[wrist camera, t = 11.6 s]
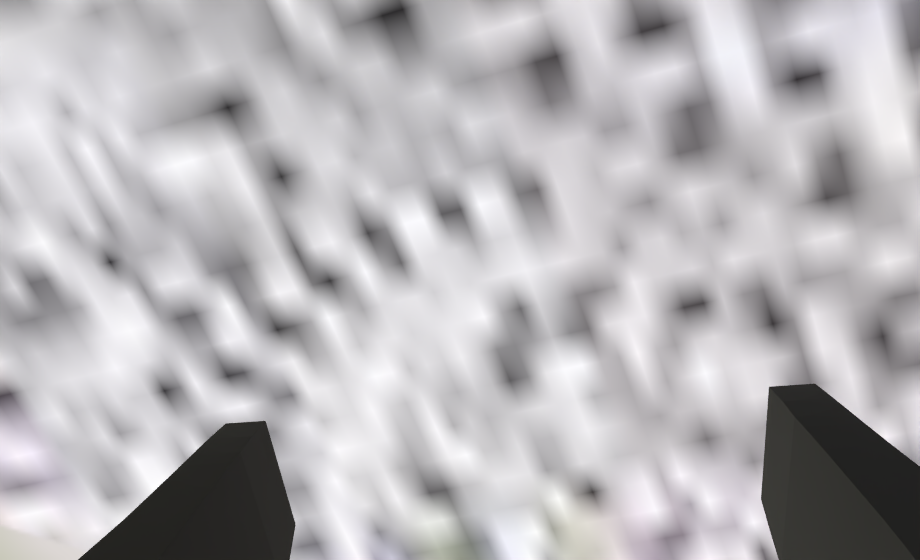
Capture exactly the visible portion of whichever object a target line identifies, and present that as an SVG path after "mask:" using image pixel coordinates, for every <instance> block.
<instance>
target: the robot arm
mask: <svg viewBox="0 0 920 560" xmlns="http://www.w3.org/2000/svg"><path fill="white" fill-rule="evenodd" d="M761 500H762V504H763V507H764V511H765V514H766V518H767V521H768V525H769V528H770V532H771V535H772V539H773V542H774V545H775V548H776V552H777V555H778V558H779V560H920V466H918V465H917V464H916V463H914V462H913V461H912V460H910V459H909V458H908V457H907V456H905V455H904V454H903V453H901V452H900V451H899V450H898V449H896V448H895V447H894V446H892V445H891V444H890V443H889V442H887V441H886V440H885V439H883V438H882V437H881V436H880V435H878V434H877V433H876V432H875V431H873V430H872V429H871V428H870V427H868V426H867V425H866V424H865V423H863V422H862V421H861V420H860V419H858V418H857V417H856V416H855V415H854V414H852V413H851V412H850V411H849V410H847V409H846V408H845V407H844V406H842V405H841V404H840V403H839V402H837V401H836V400H835V399H834V398H833V397H831V396H830V395H829V394H827V393H826V392H825V391H824V390H822V389H821V388H820V387H818V386H817V385H816V384H805V385H790V386H775V387H769V396H768V410H767V424H766V439H765V453H764V467H763V481H762V495H761ZM294 530H295V521H294V518H293V514H292V511H291V507H290V504H289V501H288V497H287V494H286V490H285V487H284V483H283V480H282V476H281V473H280V469H279V466H278V462H277V459H276V456H275V452H274V449H273V445H272V442H271V438H270V435H269V431H268V428H267V424H266V421H258V422H244V423H229V424H225V425H224V426H223V427H222V428H220V429H219V430H218V431H217V432H216V433H215V434H214V435H213V436H211V437H210V438H209V439H208V440H207V441H206V442H205V443H204V444H203V445H202V446H201V447H200V448H199V449H198V450H197V451H196V452H195V453H194V454H192V455H191V456H190V457H189V458H188V459H187V460H186V461H185V462H184V463H183V464H182V465H181V466H180V467H179V468H178V469H177V470H176V471H175V472H174V473H173V474H172V475H171V476H170V477H169V478H168V479H167V480H166V481H164V482H163V483H162V484H161V485H160V486H159V487H158V488H157V489H156V490H155V491H154V492H153V493H152V494H151V495H150V496H149V497H148V498H146V499H145V500H144V501H143V502H142V503H141V504H140V505H139V506H138V507H137V508H136V509H135V510H134V511H133V512H132V513H131V514H130V515H128V516H127V517H126V518H125V519H124V520H123V521H122V522H121V523H120V524H118V525H117V526H116V527H115V528H114V529H113V530H112V531H110V532H109V533H108V534H107V535H106V536H105V537H104V538H102V539H101V540H100V541H99V542H98V543H97V544H96V545H94V546H93V547H92V548H91V549H90V550H89V551H87V552H86V553H85V554H84V555H83V556H82V557H81V558H80V559H78V560H289V559H290V553H291V547H292V541H293V536H294Z"/></svg>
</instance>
